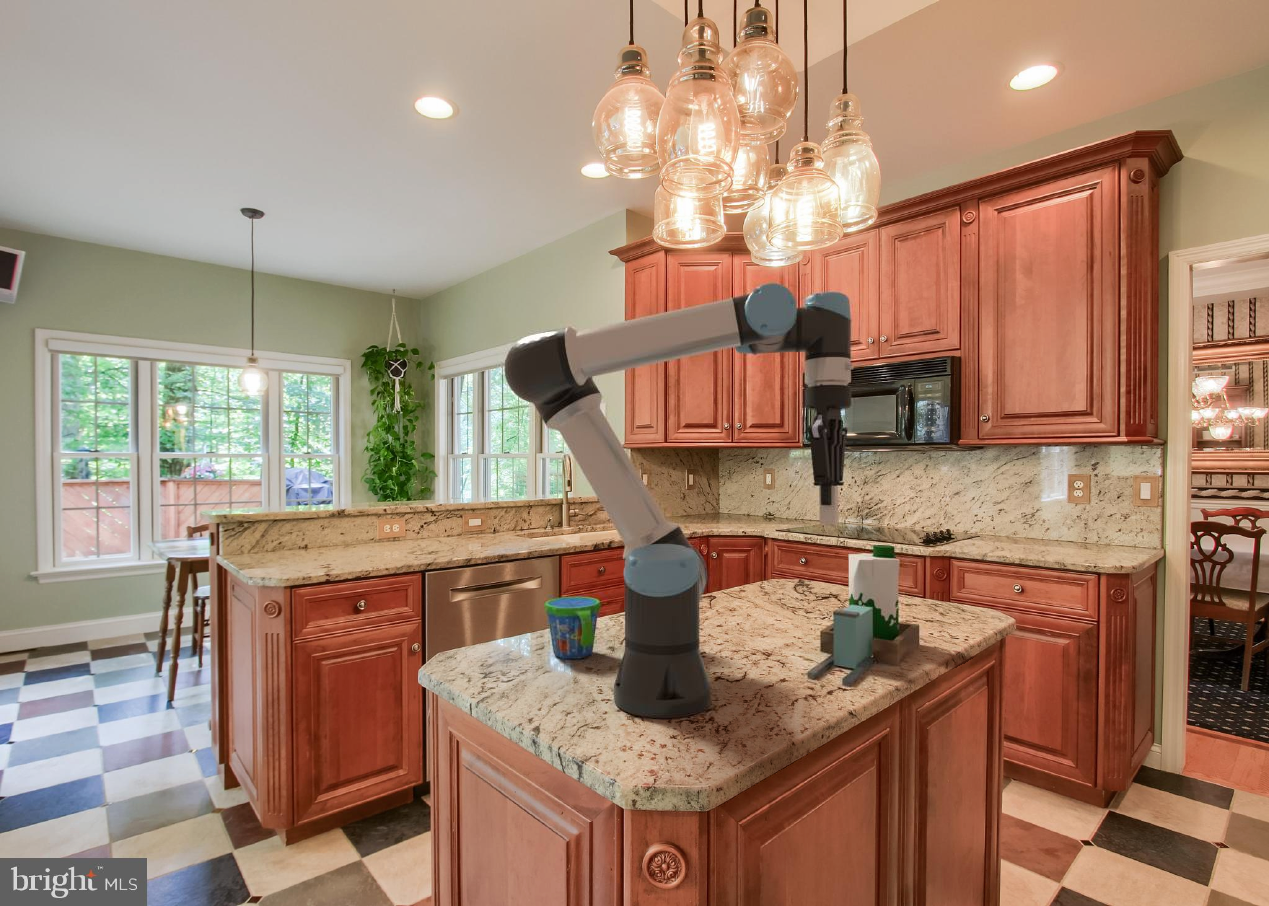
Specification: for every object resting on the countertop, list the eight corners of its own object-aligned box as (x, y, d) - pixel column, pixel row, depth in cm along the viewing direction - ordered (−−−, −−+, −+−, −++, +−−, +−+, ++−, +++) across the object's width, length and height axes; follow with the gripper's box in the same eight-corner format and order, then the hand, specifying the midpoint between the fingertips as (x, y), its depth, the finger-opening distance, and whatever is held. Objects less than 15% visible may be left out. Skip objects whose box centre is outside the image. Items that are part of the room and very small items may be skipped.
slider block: (833, 664, 114) (833, 611, 115) (851, 651, 122) (851, 601, 123) (856, 669, 112) (856, 614, 112) (873, 655, 120) (872, 604, 120)
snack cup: (537, 646, 128) (537, 595, 128) (587, 640, 131) (587, 591, 131) (555, 670, 113) (555, 613, 113) (611, 663, 117) (611, 608, 117)
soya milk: (904, 652, 122) (903, 549, 123) (857, 652, 123) (856, 549, 123) (889, 640, 131) (888, 543, 131) (844, 639, 132) (843, 543, 132)
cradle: (820, 651, 123) (820, 630, 123) (848, 633, 136) (847, 614, 137) (897, 665, 115) (897, 643, 115) (919, 644, 128) (919, 624, 128)
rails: (807, 677, 109) (807, 671, 109) (837, 655, 121) (837, 650, 121) (849, 686, 104) (849, 680, 104) (876, 663, 116) (876, 657, 116)
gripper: (836, 380, 100) (837, 529, 100) (862, 387, 111) (863, 522, 110) (791, 383, 105) (792, 526, 105) (820, 390, 115) (821, 520, 115)
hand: (828, 524), depth 107 cm, fingers closed
